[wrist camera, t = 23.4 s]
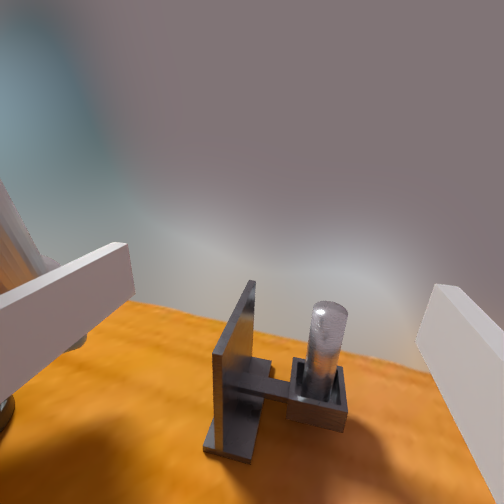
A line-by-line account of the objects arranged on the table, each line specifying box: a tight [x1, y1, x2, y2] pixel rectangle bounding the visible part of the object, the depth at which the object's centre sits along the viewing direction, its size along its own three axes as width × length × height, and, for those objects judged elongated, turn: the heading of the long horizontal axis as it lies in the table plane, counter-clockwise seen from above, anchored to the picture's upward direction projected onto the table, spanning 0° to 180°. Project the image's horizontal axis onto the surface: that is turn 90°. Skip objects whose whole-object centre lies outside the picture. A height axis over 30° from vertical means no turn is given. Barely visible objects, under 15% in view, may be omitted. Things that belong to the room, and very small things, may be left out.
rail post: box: [301, 301, 348, 403], centre depth 37 cm, size 4×4×16 cm
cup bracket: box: [203, 280, 348, 465], centre depth 40 cm, size 19×18×19 cm
